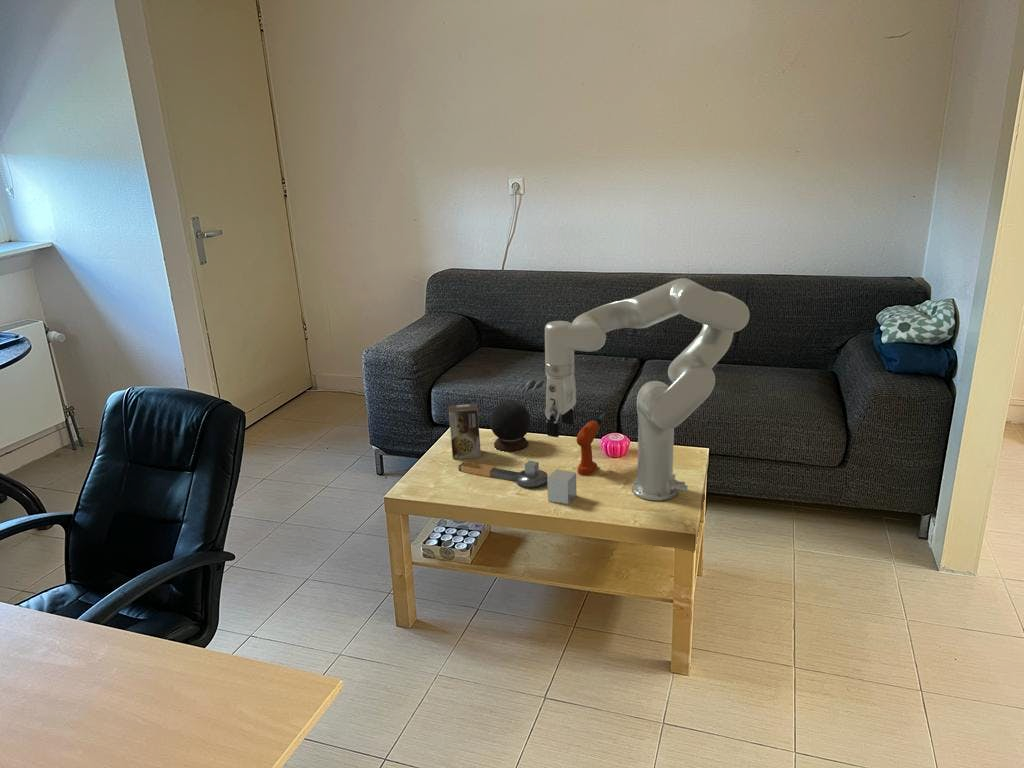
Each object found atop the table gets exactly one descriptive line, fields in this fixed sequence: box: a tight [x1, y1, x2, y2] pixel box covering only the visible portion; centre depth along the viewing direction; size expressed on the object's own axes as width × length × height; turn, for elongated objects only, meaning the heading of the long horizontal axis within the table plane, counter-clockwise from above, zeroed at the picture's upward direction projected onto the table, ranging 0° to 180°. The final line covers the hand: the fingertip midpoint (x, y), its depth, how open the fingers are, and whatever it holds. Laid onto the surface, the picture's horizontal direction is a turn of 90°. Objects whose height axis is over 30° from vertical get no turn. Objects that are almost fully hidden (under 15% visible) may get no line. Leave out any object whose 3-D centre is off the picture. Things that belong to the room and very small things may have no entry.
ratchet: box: [458, 460, 549, 490], centre depth 215 cm, size 28×9×6 cm, turn 63°
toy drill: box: [576, 412, 607, 476], centre depth 219 cm, size 5×19×15 cm, turn 150°
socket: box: [546, 468, 577, 506], centre depth 200 cm, size 6×6×7 cm
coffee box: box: [448, 402, 482, 460], centre depth 230 cm, size 9×6×16 cm
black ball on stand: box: [489, 400, 532, 453], centre depth 236 cm, size 13×13×15 cm
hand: (560, 429), depth 195 cm, fingers open, 9 cm apart
